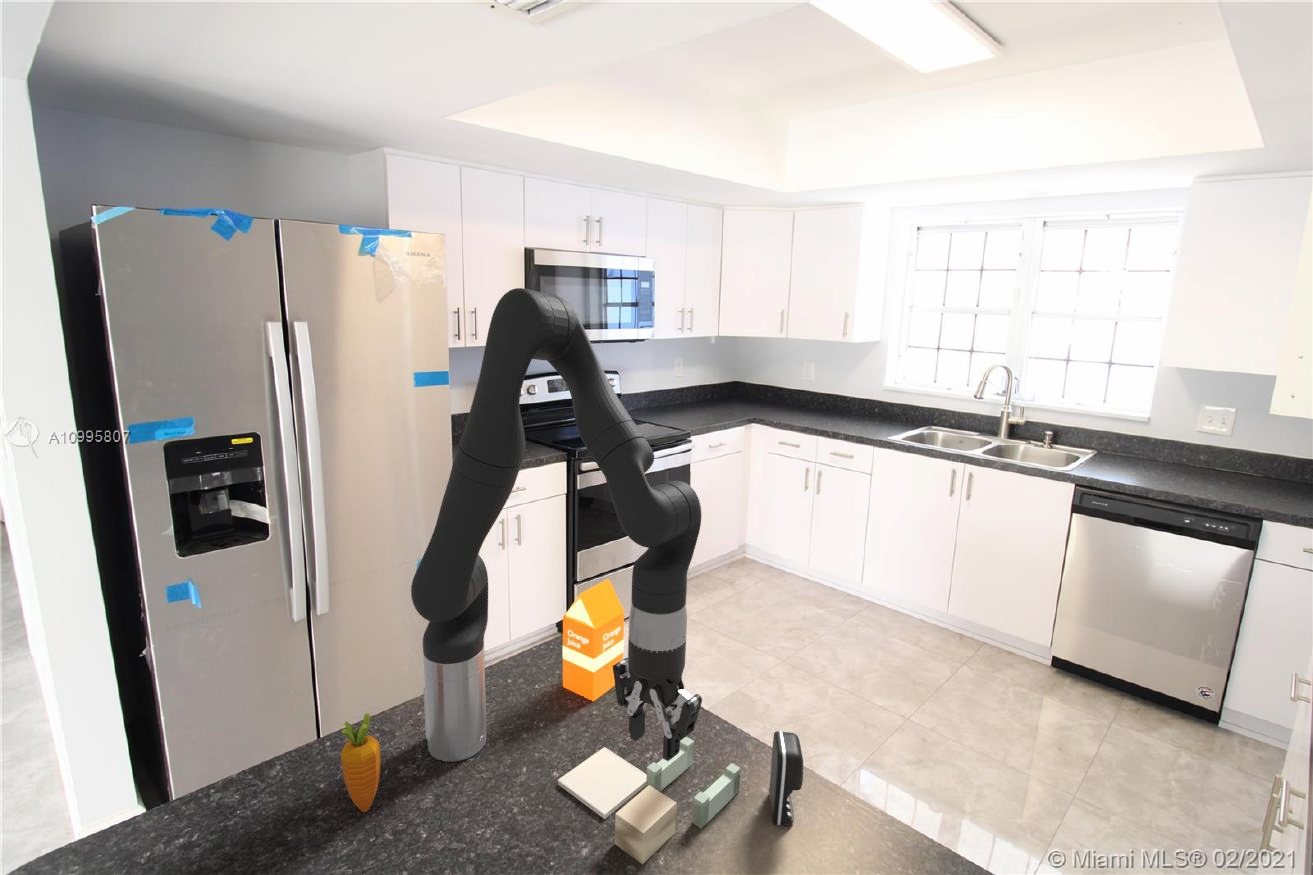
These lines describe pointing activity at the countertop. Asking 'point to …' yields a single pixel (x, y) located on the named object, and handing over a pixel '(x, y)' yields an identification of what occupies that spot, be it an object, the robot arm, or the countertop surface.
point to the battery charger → (784, 776)
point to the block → (645, 824)
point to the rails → (703, 801)
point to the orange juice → (592, 641)
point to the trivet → (603, 782)
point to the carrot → (361, 764)
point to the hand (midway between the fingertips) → (653, 746)
